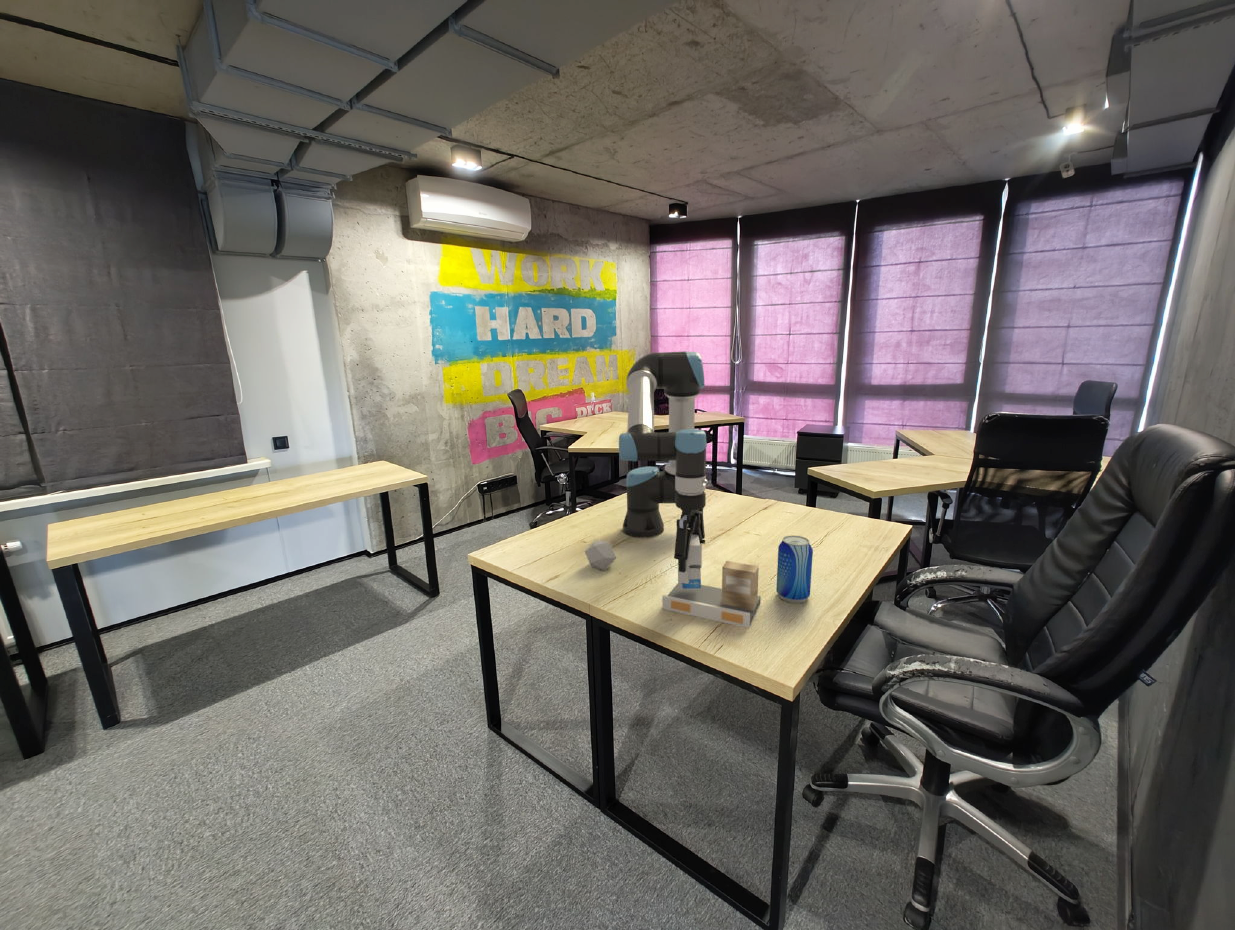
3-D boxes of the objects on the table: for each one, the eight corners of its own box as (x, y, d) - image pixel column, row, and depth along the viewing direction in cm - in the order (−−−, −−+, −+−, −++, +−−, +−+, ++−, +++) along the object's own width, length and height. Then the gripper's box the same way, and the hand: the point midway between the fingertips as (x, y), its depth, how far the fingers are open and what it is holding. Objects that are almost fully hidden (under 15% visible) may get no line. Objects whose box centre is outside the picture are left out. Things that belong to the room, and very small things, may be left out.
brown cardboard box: (721, 604, 124) (722, 567, 122) (725, 596, 128) (726, 560, 125) (753, 610, 120) (755, 572, 118) (757, 603, 124) (758, 566, 122)
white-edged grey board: (662, 609, 126) (661, 596, 126) (680, 587, 138) (680, 575, 137) (748, 628, 117) (749, 615, 116) (760, 603, 128) (760, 590, 127)
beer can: (771, 590, 135) (773, 535, 131) (801, 588, 135) (804, 533, 132) (783, 605, 126) (786, 547, 123) (815, 603, 127) (819, 545, 124)
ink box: (701, 589, 125) (701, 545, 122) (680, 589, 125) (681, 545, 123) (699, 574, 133) (699, 533, 131) (680, 574, 134) (680, 533, 131)
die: (621, 567, 153) (613, 537, 157) (612, 564, 145) (604, 532, 149) (596, 575, 155) (589, 545, 159) (586, 573, 147) (578, 541, 150)
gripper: (690, 505, 113) (689, 595, 117) (717, 482, 132) (716, 560, 137) (659, 501, 116) (660, 589, 121) (690, 479, 135) (690, 556, 140)
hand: (690, 574), depth 129 cm, fingers closed on ink box, 9 cm apart
